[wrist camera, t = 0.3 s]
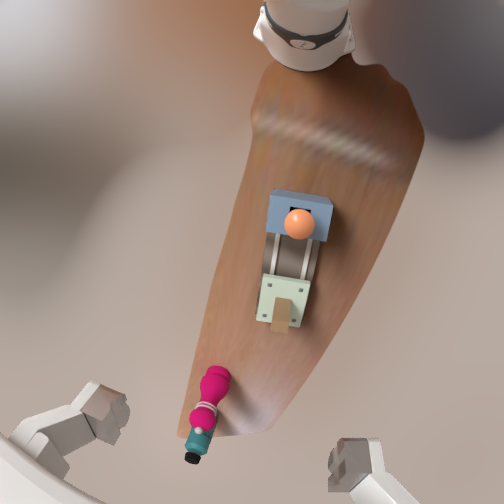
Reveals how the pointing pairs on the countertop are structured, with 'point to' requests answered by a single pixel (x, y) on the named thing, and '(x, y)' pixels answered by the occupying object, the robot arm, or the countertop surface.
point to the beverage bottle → (198, 444)
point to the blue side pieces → (285, 199)
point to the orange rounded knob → (299, 224)
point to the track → (289, 258)
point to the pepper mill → (210, 398)
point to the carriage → (282, 301)
